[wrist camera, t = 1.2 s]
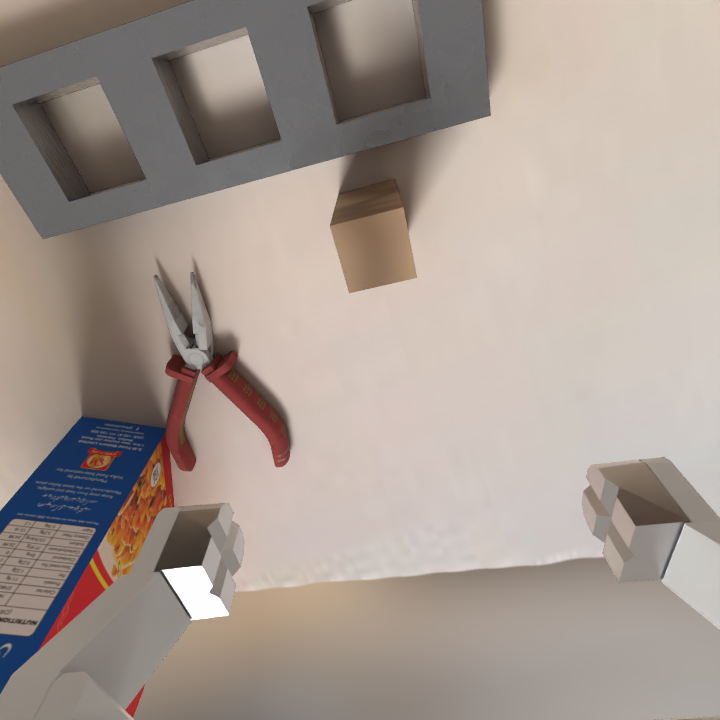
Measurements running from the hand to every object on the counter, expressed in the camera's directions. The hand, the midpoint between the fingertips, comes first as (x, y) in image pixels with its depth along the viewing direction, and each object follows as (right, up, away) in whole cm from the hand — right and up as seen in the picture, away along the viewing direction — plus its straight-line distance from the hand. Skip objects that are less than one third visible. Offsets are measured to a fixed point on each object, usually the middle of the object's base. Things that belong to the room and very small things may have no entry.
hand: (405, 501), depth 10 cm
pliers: (-13, +1, +30) cm, 32 cm away
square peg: (0, +14, +21) cm, 25 cm away
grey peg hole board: (-9, +19, +17) cm, 27 cm away
